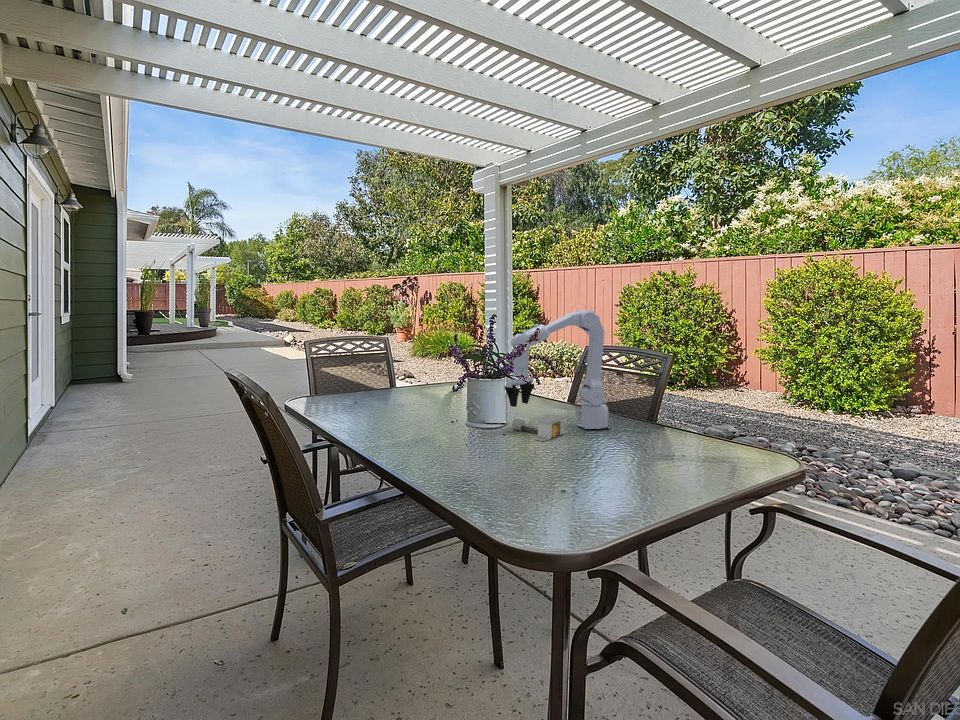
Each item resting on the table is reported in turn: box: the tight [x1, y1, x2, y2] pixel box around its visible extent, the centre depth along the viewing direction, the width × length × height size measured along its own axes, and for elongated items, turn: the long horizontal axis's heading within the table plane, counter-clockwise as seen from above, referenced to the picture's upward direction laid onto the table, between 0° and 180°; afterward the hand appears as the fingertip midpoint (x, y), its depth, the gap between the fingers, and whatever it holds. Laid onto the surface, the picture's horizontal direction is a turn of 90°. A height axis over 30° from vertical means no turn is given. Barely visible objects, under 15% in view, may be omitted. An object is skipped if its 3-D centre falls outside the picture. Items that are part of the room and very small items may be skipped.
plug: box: [511, 418, 558, 438], centre depth 196 cm, size 16×4×4 cm, turn 53°
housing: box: [533, 414, 568, 442], centre depth 192 cm, size 4×16×6 cm, turn 143°
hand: (519, 404), depth 199 cm, fingers open, 7 cm apart
